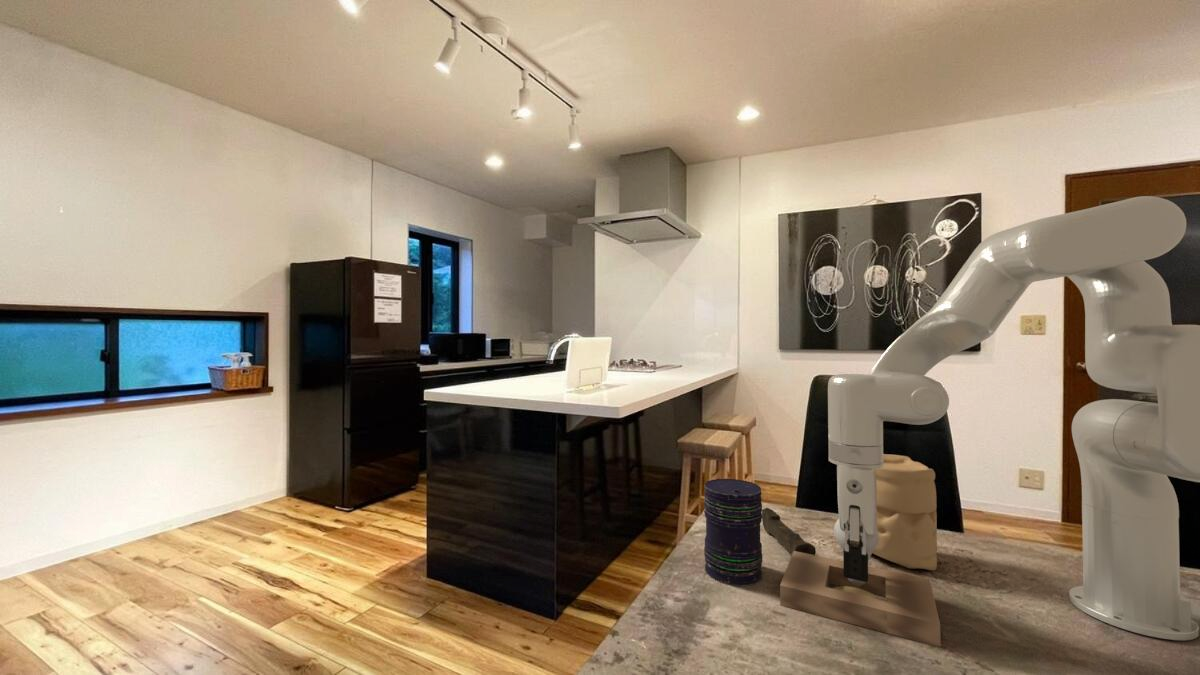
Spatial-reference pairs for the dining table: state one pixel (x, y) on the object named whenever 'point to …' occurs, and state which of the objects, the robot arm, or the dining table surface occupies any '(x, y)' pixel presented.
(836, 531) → the lightbulb
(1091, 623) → the dining table surface
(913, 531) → the container
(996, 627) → the dining table surface
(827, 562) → the holder
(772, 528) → the hand tool
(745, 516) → the navy ridged cylinder
